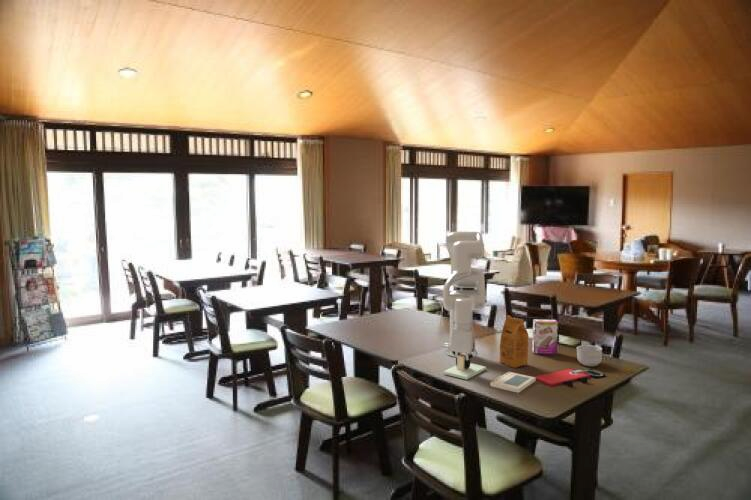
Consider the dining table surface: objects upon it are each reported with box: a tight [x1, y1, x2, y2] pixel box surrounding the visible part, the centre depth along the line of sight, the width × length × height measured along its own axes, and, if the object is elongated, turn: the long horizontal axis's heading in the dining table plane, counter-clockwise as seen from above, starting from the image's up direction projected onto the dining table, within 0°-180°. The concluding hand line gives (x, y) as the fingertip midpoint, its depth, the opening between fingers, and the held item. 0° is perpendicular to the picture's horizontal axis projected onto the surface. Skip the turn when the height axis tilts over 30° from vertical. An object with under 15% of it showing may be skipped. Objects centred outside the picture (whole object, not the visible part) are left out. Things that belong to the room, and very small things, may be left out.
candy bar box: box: [531, 318, 559, 356], centre depth 255 cm, size 11×5×16 cm, turn 84°
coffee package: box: [499, 314, 529, 369], centre depth 238 cm, size 10×12×22 cm
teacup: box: [576, 344, 603, 367], centre depth 238 cm, size 14×11×8 cm
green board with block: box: [443, 353, 487, 380], centre depth 228 cm, size 11×17×7 cm
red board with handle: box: [532, 367, 607, 388], centre depth 220 cm, size 30×3×15 cm
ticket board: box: [490, 371, 537, 394], centre depth 214 cm, size 12×17×2 cm
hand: (463, 366), depth 228 cm, fingers open, 3 cm apart
